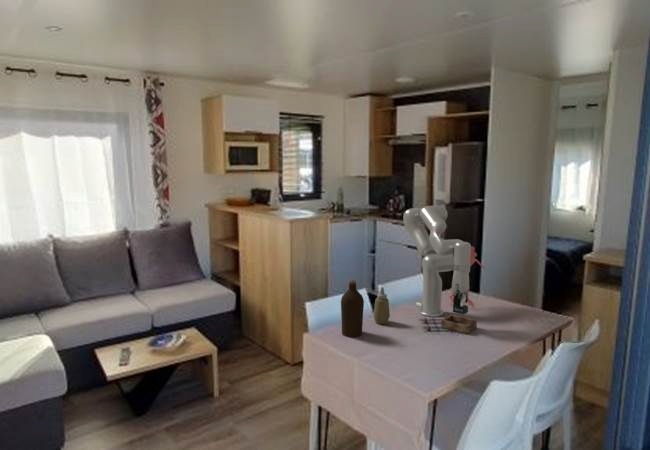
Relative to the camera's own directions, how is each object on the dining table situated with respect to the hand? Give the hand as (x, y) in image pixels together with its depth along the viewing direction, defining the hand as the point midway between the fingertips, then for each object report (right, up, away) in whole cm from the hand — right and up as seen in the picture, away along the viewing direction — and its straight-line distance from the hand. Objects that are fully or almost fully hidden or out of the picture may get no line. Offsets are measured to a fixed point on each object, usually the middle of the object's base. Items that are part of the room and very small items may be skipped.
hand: (460, 303), depth 214 cm
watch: (0, -4, 0) cm, 4 cm away
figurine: (+14, -7, +38) cm, 41 cm away
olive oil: (-52, -13, -5) cm, 54 cm away
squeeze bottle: (-37, -11, +9) cm, 39 cm away
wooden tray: (0, -12, +2) cm, 12 cm away
